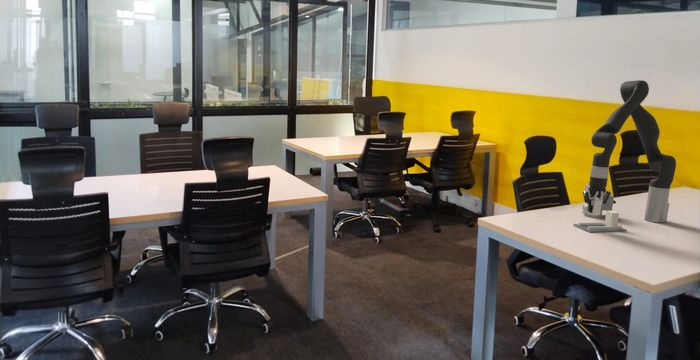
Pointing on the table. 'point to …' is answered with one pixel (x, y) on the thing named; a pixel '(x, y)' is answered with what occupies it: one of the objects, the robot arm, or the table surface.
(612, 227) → the rail plate
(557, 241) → the table surface
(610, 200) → the circuit breaker
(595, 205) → the block
